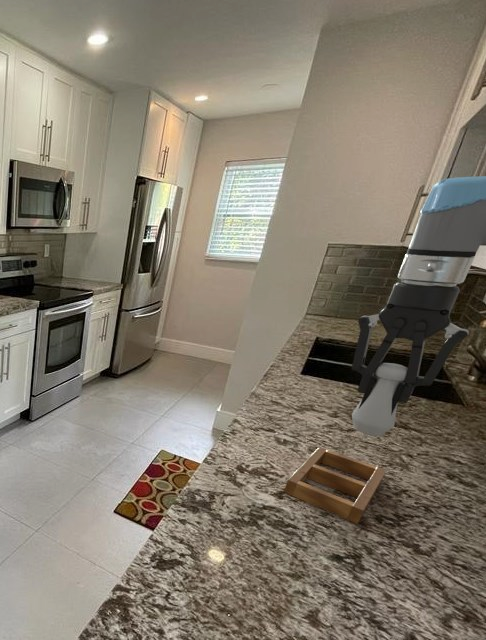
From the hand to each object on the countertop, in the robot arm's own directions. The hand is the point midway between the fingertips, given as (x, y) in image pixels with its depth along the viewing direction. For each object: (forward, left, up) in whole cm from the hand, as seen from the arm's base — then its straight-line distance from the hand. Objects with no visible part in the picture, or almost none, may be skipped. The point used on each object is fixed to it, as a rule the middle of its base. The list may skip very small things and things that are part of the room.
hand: (374, 413), depth 75 cm
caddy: (+2, -3, -18) cm, 19 cm away
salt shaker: (0, 0, -4) cm, 4 cm away
